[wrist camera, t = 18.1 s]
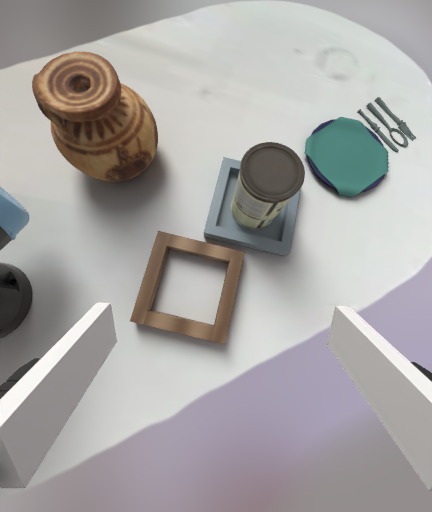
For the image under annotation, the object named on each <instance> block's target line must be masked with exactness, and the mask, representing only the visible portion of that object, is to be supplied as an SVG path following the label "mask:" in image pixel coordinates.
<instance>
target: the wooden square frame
mask: <svg viewBox="0 0 432 512" xmlns="http://www.w3.org/2000/svg"><path fill="white" fill-rule="evenodd" d="M169 249H171V250H175V251H179V252H184V253H188V254H192V255H196V256H200V257H204V258H208V259H212V260H216V261H220V262H224V263H228V267H227V271H226V276H225V280H224V284H223V289H222V293H221V298H220V302H219V306H218V311H217V315H216V319H215V324H214V325H210V324H206V323H202V322H198V321H194V320H190V319H186V318H182V317H178V316H174V315H170V314H165V313H161V312H157V311H153V310H151V309H152V306H153V302H154V299H155V296H156V292H157V289H158V286H159V282H160V279H161V275H162V272H163V269H164V265H165V262H166V259H167V255H168V252H169ZM244 253H245V252H242V251H238V250H234V249H230V248H226V247H222V246H218V245H214V244H209V243H205V242H201V241H197V240H193V239H189V238H185V237H181V236H177V235H173V234H169V233H164V232H160V231H158V233H157V236H156V240H155V243H154V246H153V249H152V252H151V256H150V259H149V262H148V265H147V268H146V272H145V275H144V278H143V281H142V284H141V287H140V291H139V294H138V297H137V300H136V303H135V307H134V310H133V313H132V316H131V319H130V321H131V322H135V323H139V324H143V325H147V326H151V327H155V328H159V329H163V330H168V331H172V332H176V333H180V334H184V335H188V336H192V337H196V338H200V339H204V340H208V341H212V342H216V343H220V344H225V341H226V336H227V331H228V327H229V322H230V317H231V313H232V308H233V304H234V299H235V294H236V290H237V285H238V280H239V276H240V271H241V267H242V262H243V257H244Z"/></svg>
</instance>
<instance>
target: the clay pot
mask: <svg viewBox="0 0 432 512" xmlns="http://www.w3.org/2000/svg"><path fill="white" fill-rule="evenodd" d="M32 88H33V93H34V96H35V98H36V101H37V103H38V106H39V108H40V110H41V111H42V112H43V114H44V115H45V116H46V117H47V118H48V119H49V120H50V121H51V132H52V136H53V139H54V142H55V144H56V146H57V148H58V150H59V151H60V152H61V154H62V155H63V156H64V157H65V159H66V160H67V161H68V162H69V163H70V164H72V165H73V166H74V167H75V168H77V169H78V170H80V171H81V172H83V173H85V174H87V175H89V176H91V177H93V178H96V179H99V180H104V181H109V182H120V181H125V180H129V179H132V178H134V177H136V176H138V175H139V174H141V173H142V172H143V171H144V170H145V169H146V168H147V167H148V166H149V165H150V163H151V162H152V160H153V158H154V156H155V153H156V149H157V144H158V132H157V126H156V122H155V119H154V117H153V114H152V112H151V111H150V109H149V107H148V106H147V104H146V103H145V101H144V100H143V99H142V98H141V97H140V96H139V95H138V94H137V93H136V92H135V91H133V90H132V89H130V88H129V87H127V86H125V85H123V84H121V83H120V81H119V79H118V76H117V73H116V71H115V69H114V68H113V66H112V65H111V64H110V63H109V62H108V61H107V60H106V59H104V58H103V57H101V56H99V55H97V54H93V53H89V52H73V53H67V54H63V55H61V56H59V57H57V58H55V59H53V60H51V61H50V62H48V63H47V64H46V65H45V66H44V67H43V69H42V70H41V71H40V73H38V74H36V75H34V77H33V81H32Z"/></svg>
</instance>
